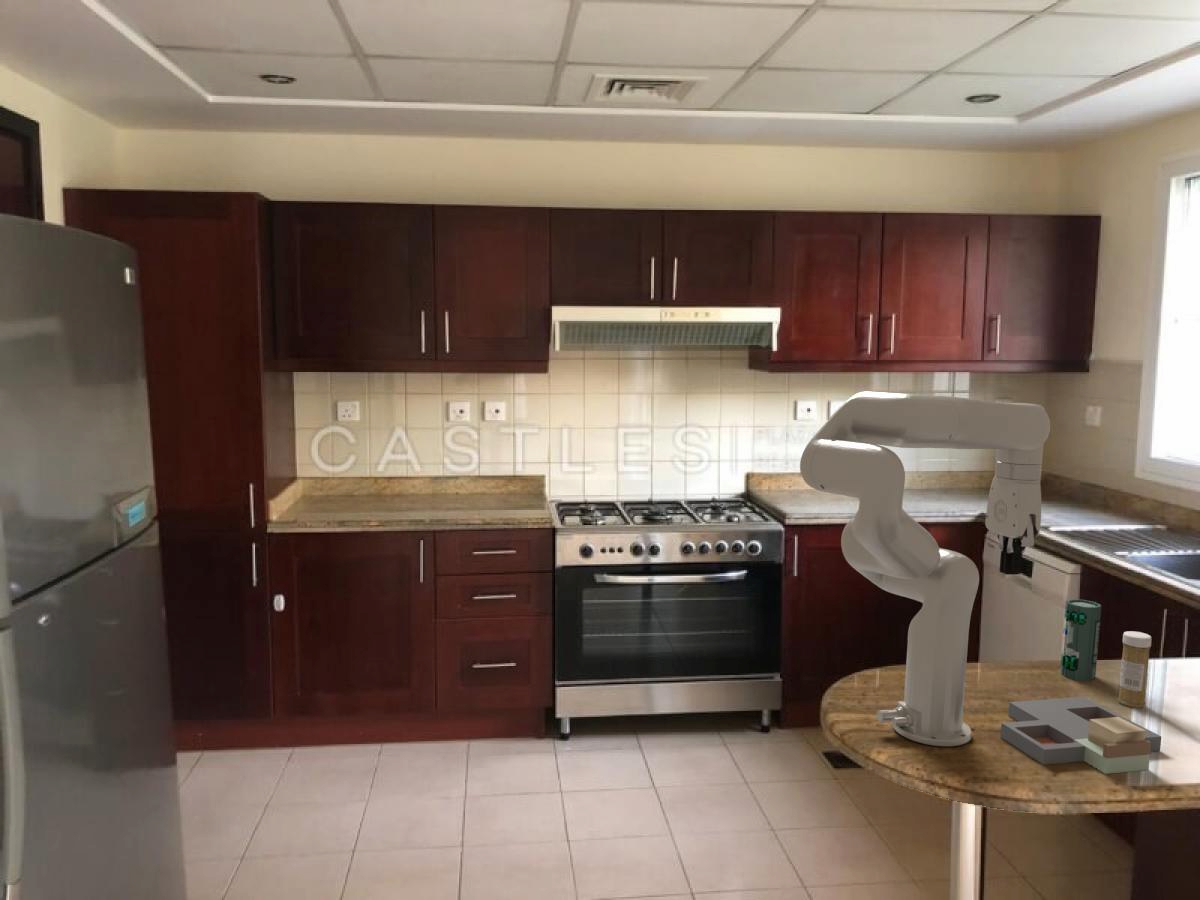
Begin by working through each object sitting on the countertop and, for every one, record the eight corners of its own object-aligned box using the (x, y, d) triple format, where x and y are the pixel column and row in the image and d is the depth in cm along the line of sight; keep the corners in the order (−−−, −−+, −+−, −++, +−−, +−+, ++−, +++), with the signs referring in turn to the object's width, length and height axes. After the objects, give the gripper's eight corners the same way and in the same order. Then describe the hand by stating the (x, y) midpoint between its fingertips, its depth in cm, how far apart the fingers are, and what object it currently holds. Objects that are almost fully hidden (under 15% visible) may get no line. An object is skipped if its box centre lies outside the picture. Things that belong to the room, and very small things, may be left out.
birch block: (1114, 754, 144) (1116, 733, 144) (1088, 740, 149) (1089, 719, 149) (1143, 751, 145) (1145, 730, 145) (1116, 737, 151) (1118, 716, 150)
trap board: (1063, 777, 141) (1065, 749, 141) (971, 718, 163) (973, 694, 163) (1188, 765, 146) (1190, 738, 146) (1082, 709, 169) (1084, 686, 168)
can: (1058, 668, 191) (1064, 597, 189) (1091, 672, 189) (1097, 601, 187) (1063, 678, 185) (1069, 605, 183) (1097, 682, 183) (1103, 609, 181)
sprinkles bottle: (1150, 705, 172) (1156, 635, 170) (1137, 710, 169) (1144, 639, 168) (1124, 697, 175) (1131, 628, 174) (1112, 702, 173) (1118, 632, 171)
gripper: (975, 466, 171) (967, 563, 173) (1024, 478, 156) (1015, 584, 158) (1012, 467, 172) (1004, 563, 174) (1064, 478, 157) (1055, 583, 159)
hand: (1009, 573), depth 166 cm, fingers closed
